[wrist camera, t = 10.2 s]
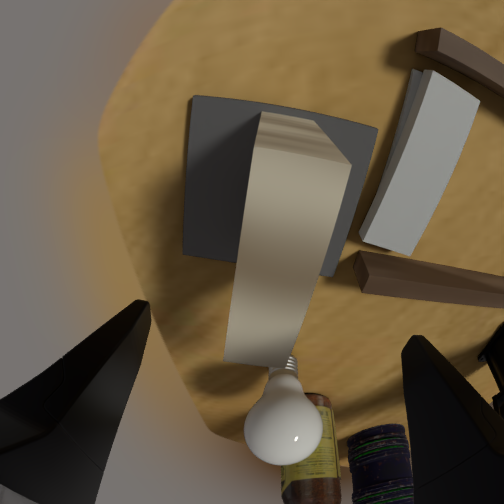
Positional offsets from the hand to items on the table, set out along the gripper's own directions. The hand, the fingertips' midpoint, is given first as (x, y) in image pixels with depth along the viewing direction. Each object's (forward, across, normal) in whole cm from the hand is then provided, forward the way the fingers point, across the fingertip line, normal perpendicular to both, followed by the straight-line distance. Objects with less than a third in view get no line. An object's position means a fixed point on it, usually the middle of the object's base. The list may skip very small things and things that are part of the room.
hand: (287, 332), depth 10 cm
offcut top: (+12, -8, -4) cm, 15 cm away
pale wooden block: (+11, 0, 0) cm, 11 cm away
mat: (+12, 0, 0) cm, 12 cm away
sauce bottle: (+12, -8, +25) cm, 29 cm away
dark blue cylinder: (+12, -23, +36) cm, 45 cm away
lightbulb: (+12, -4, +16) cm, 20 cm away
